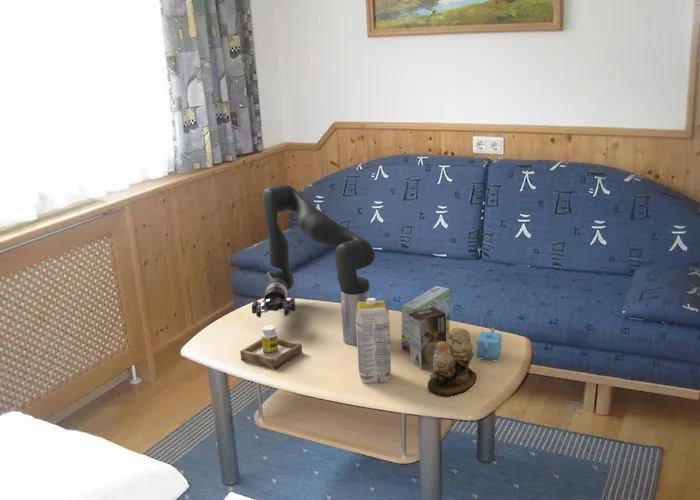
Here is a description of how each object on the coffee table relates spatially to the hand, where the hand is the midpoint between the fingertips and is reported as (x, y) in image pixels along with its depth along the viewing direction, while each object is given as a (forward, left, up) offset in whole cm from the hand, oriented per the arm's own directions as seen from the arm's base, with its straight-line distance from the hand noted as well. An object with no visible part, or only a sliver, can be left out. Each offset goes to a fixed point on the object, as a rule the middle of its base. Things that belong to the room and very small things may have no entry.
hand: (272, 314), depth 234 cm
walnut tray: (-7, +9, -10) cm, 15 cm away
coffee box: (-52, -10, -10) cm, 53 cm away
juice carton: (-43, +6, -10) cm, 44 cm away
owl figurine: (-64, -2, -10) cm, 64 cm away
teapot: (-66, -23, -10) cm, 70 cm away
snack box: (-44, -24, -10) cm, 50 cm away
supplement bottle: (-6, +9, -8) cm, 14 cm away
